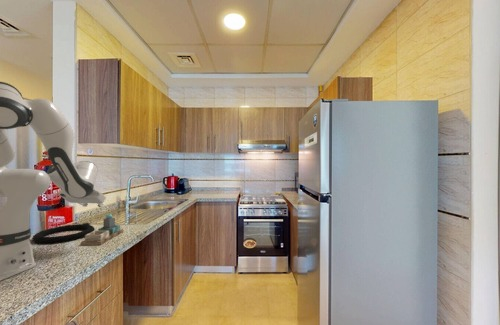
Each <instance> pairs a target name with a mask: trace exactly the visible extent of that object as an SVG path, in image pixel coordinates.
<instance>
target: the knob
mask: <svg viewBox="0 0 500 325" xmlns="http://www.w3.org/2000/svg"><path fill="white" fill-rule="evenodd" d="M105 216H106V217H105V218H103V220H102V221H103V222H102V223H103V226H102V227H104V229H111V228H114V227H115V225H116V217H113V214H112V213H110V214H109V213H108V214H106V215H105Z"/></svg>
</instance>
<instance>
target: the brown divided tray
mask: <svg viewBox="0 0 500 325" xmlns="http://www.w3.org/2000/svg"><path fill="white" fill-rule="evenodd" d="M120 233H121V234H122V233H124V229H121V225H120V224H115V227H114V228H111V229H104V226H101V227H100V228H98V229H97V230H94V231H93V232H91V233H89V234H87V235H85V237H84V240H82V241H81V242H80V246H102V245H104V244H105V243H107V242H109V241H110V240H112V239H113V237H114V238H115V237H117V236H119V235H121V234H120ZM108 240H109V241H108Z"/></svg>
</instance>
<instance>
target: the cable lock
mask: <svg viewBox="0 0 500 325" xmlns="http://www.w3.org/2000/svg"><path fill="white" fill-rule="evenodd" d="M71 231H78V232H75V233H70V234H65V235H56V236H49V234H50V235H54V233H55V234H57V233H63V232H71ZM93 231H95V227H94V226H93V225H91V224H90V222H83V223H80V224H79V223H78V224H67V225H66V224H65V225H59V226H55V227H51V228H47V229H44V230H41V231H40V230H39V232H37V233H35V234H34V235H32V237H31V239H32V242H34V243H36V244H39V243H40V244H41V245H45V244H46V245H52V244H61V243H67V242H72V241H76V240H79V238H80V239H83V237H84V238H85V235H87V234H89V233H91V232H93ZM44 236H45V237H44Z"/></svg>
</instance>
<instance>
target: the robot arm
mask: <svg viewBox="0 0 500 325" xmlns="http://www.w3.org/2000/svg"><path fill="white" fill-rule="evenodd" d="M28 126H30V127H31V129H32V130H33V131H34V133H35V134H36V135H37V136H38V138H39V140H40V142H41V143H42V145H43V146H44V149H45V151H46V154H47V156H48V159H49V160H50V162H51V166H49V167H48V169H47V170H46V171H45V170H41V169H34V168H8V167H6V166H7V165H10V164H11V162H13V161H14V159H15V156H16V152H15V150H14V148H13V146H12V144H11V141H10V140H9V138H8V136H7V134H6V132H5V130H12V129H16V128H23V127H28ZM74 143H75V133H74V130H73V127H72V125H71V123H69V121H68V119H67V118H66V117H65V115H64V114H63V112H62V111H61V110H60V108H58V106H56V104H55V103H53V101H51V100H50V99H46V98H35V99H25V98H23V95H22V93H21V92H20V90H19V89H17V87H15V86H14V85H12V84H11V83H8V82H5V81H0V198H6V201H5V203H4V205H2V206H0V282H1V281H3V280H6V279H8V278H10V277H12V276H15V275H18V274H20V273H22V272H25V271H27V270H30V269H32V268H34V267H36V266H37V263H36V260H35V258H34V252H33V246H32V244H31V239H30V238H32V231H31V227H30V215H31V209H32V206H33V204H34V203H35V201H36V200H37V198H39V197H40V196H41V195H43V194H45V193H46V192H47V191H48V189H49V188H50V186H51V182H52V183H53V185H55V186H56V187H57V188H59V189H61V190H60V191H59V192H58V193H57V194H58V196H60V197H62V198H63V200H64V201H67V203H68V202H69V203H70V204H71V203H72V204H78V205H81V206H82V207H84V208H85V207H88V205H89V204H96V205H97V207H98V208H102V207H103V206H104V202H105V201H106V199H107V198H106V196H105V195H104V194H103V193H102V192H101V191H100V190H97V189H94V188H95V187H94V186H95V182H96V178H97V176H98V171H99V169H98V166H97V165H96V164H95V163H94V162H91V161H89V160H82V161H78V162H74V160H73V155H72V154H73V147H74Z"/></svg>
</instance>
